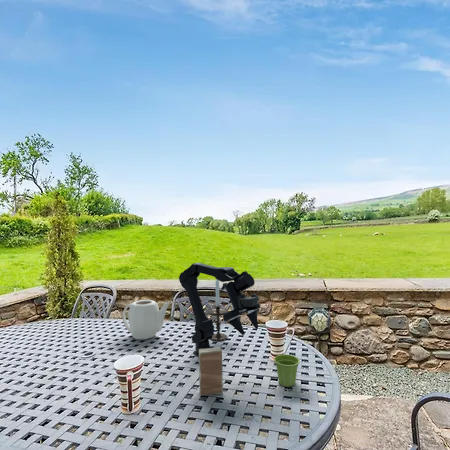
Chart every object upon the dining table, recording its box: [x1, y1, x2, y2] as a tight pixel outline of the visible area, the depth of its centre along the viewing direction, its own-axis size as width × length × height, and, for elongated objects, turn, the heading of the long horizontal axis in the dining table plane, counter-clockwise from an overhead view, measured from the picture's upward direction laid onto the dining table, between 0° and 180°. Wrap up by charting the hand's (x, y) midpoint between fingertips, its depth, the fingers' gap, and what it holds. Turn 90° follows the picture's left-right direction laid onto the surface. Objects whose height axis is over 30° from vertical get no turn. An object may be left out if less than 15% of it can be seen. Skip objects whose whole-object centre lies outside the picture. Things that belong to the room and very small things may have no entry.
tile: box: [198, 346, 224, 396], centre depth 109 cm, size 3×8×15 cm, turn 99°
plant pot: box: [273, 353, 301, 388], centre depth 115 cm, size 9×9×9 cm
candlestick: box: [207, 278, 229, 342], centre depth 163 cm, size 11×11×35 cm
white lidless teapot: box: [122, 299, 171, 340], centre depth 168 cm, size 16×27×19 cm, turn 83°
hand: (250, 331), depth 125 cm, fingers open, 9 cm apart
